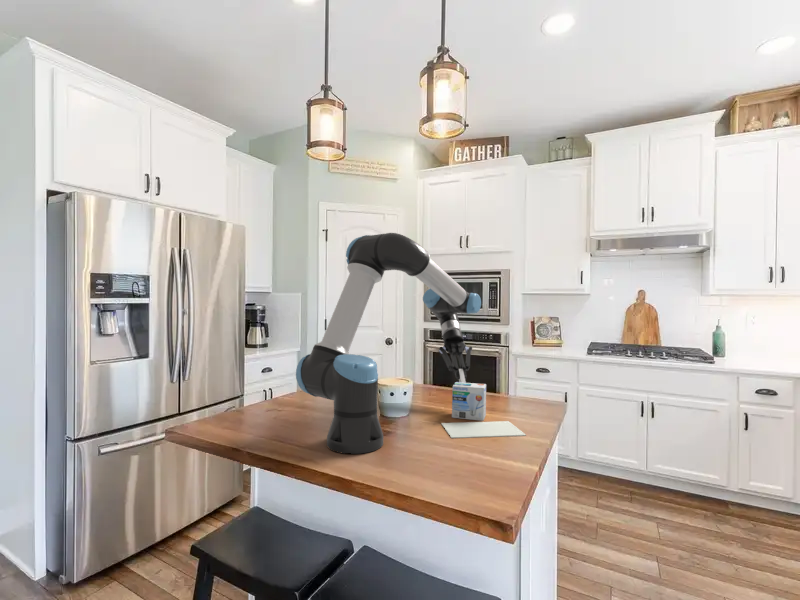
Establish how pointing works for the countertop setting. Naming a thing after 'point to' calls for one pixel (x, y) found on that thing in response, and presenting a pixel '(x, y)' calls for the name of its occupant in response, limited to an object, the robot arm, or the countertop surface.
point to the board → (482, 429)
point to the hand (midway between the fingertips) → (463, 386)
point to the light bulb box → (469, 401)
